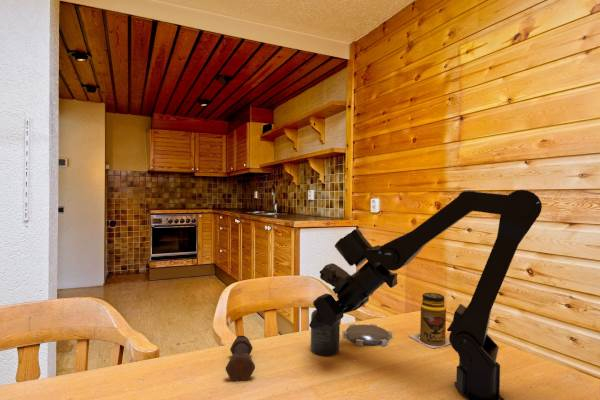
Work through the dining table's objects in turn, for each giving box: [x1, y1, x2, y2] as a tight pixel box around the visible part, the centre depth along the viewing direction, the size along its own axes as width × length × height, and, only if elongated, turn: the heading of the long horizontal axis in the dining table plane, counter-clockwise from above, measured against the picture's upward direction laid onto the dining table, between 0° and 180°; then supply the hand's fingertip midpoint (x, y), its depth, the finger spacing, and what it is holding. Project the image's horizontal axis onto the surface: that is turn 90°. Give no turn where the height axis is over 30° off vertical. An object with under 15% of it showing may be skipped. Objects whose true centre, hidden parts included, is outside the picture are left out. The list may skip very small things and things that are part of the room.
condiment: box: [408, 292, 451, 349], centre depth 92 cm, size 7×8×12 cm
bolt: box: [225, 335, 256, 383], centre depth 78 cm, size 6×5×15 cm
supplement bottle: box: [310, 308, 341, 357], centre depth 85 cm, size 7×7×12 cm
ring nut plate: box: [342, 323, 393, 347], centre depth 94 cm, size 13×12×1 cm
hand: (320, 321), depth 86 cm, fingers open, 9 cm apart
